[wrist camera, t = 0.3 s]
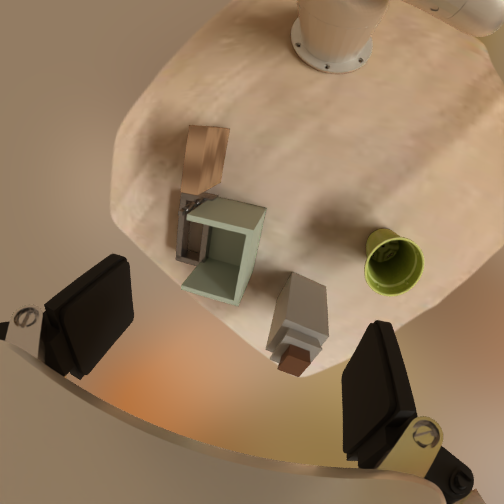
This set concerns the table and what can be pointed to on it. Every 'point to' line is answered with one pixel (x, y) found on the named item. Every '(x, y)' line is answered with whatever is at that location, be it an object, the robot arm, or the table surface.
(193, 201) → the grey brown open box
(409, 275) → the plant pot
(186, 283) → the box
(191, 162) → the door
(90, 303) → the robot arm
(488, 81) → the table surface
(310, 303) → the perfume bottle
